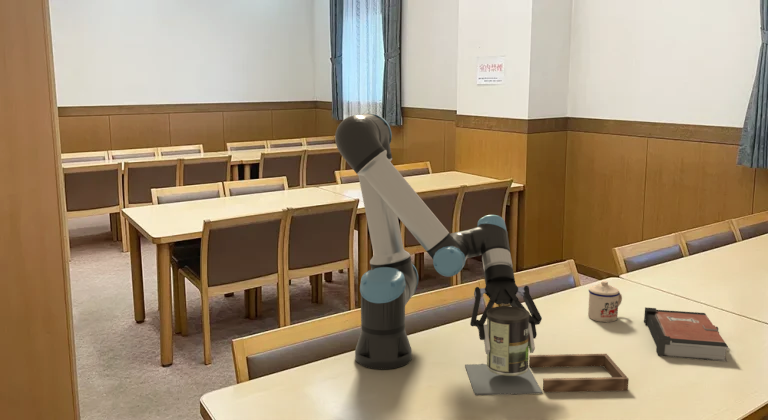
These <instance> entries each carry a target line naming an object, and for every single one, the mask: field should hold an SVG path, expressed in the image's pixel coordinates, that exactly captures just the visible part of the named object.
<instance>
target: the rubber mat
mask: <svg viewBox="0 0 768 420" xmlns="http://www.w3.org/2000/svg"><path fill="white" fill-rule="evenodd" d="M464 367H465V370H466V372H467V373H466V374H467V376H468V378H469V382H470V384H471V388H472V391H473V394H474V395H475V396H481V395H482V396H483V395H484V396H487V395H489V396H490V395H491V396H493V395H539V394H540V395H541V394H542V395H543V393H544V392H543V389H541V386H540V385H539V383H538V381H537V380H536V378H535V376H534V374H533V372H532V370H531V368H529V369H528V371H527V372H526V373H524V374H521V375H516V376H505V375H499V374H496V373H493V372H491V371H490V370H488V368H487V363H478V364H475V363H473V364H471V363H470V364H469V363H468V364H464Z"/></svg>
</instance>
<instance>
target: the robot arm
mask: <svg viewBox="0 0 768 420" xmlns="http://www.w3.org/2000/svg"><path fill="white" fill-rule="evenodd" d="M392 135H393V134H392V129H391V126H390V124H389V123H388V121H386V119H385V118H384V117H382V116H380V115H378V114H377V113H376V114H375V113H371V112H368V113H365V112H364V113H361V114H356V115H355V114H354V115H349V116H348V117H345V118H344V119H343V120H342V121H341V122H340V123H339V124H338V126H337V128H336V130H335V133H334V140H335V141H334V142H335V145H336V148H337V150H338V152H339V154H340V155H341V156H342V158H343V159H344V161H346V163H347V164H348V166H350V168H351V169H352V170H353V171H354V172H355V174H356V175H357V176H358V181H359V186H360V191H361V197H362V200H363V206H364V211H365V216H366V222H367V226H368V232H369V236H370V242H371V243H370V244H371V246H372V252H373V256H372V257H371V259H370V260H369V264H370V270H369V269H368V271H366V272H364V273H363V274H362V276H361V279H360V285H359V293H360V322H361V326H360V329H361V330H360V334H359V336H358V340H357V343H356V346H355V351H354V358H355V362H357V364H359V365H360V366H363V367H365V368H369V369H374V370H392V369H397V368H400V367H401V368H402V367H404V366H406V365H408V364H409V363H410V362H411V361H412V359H413V355H412V354H413V353H412V350H413V349H412V345H411V343H410V340H409V338H408V335H407V331H406V305H407V304H408V302H409V301H410V299H411V298H412V297H413V296H414V294H415V293H416V290H417V288H418V286H419V285H418V284H419V274H418V270H417V268H416V266H415V265H414V264H413V262H412V256H411V254H410V252H409V251H406V249H405V248H404V243H403V238H402V232H401V227H400V223H399V220H400V221H401V223H402V224H403V225H404V227H406V229H407V230H408V231H409V232H410V233H411V235H412V236H413V237H414V239H415V240H416V241H417V242H418V243H419V244H420V245H421V247H422V248H423V249H424V250H425V252H427V254H428V256H429V257H430V258H431V259H432V260H433V261H432V264H433V267H434V268H433V269H435V271H436V272H437V273H438V274H439V275H440V276H444V277H448V278H449V277H454V276H456V275H458V274H459V273H460V272H461V271H462V270H463V268H465V265H466V261H467V260H468V259H469V258H474V257H480V256H481V261H482V266H483V267H482V268H483V276H484V277H483V278H484V282H485V283H484V284H485V287H483V288H480V287H479V286H476V287H475V288H474V293H473V295H474V304H473V309H472V313H471V318H470V326H471V327H476V328H477V330H478V338H479V340H480V341H483V342H484V351H485V355H487V354H489V352H490V343H489V336H488V329H487V324H485V322H487V310H489V309H491V308H494V305H495V304H496V305H501V304H504V305H510V306H513V307H519V308H522V309H525V310H527V309H528V312H529V313H530V317H529V354H533V353H534V351H535V349H536V346H535V340H534V339H537V338H536V337H537V336H538V333H537V329H536V326H537V325H540V324H541V322H542V320H543V319H542V316H541V314H540V312H539V309H538V308H537V305H536V304H535V302H534V299H533V298H532V296H531V293H530V287H529V286H528V285H525V286H523V287H519V286H517V284H516V280H515V273H514V268H513V267H514V266H513V260H512V256H511V249H510V243H509V232H508V231H507V230H508V229H507V225H506V221H505V219H504V218H503V217H502V216H500V215H496V214H488V215H483V217H481V218H479V220H478V221H477V224H476V225H477V226H476V227H473V228H471V229H465V230H461V231H456V232H451V233H450V232H449V230H448V229H447V228H446V226H444V225H443V223H442V222H441V221H440V220H439V219H438V217H437V216H436V214H434V213H433V211H432V210H431V209H430V208H429V207H428V205H427V204H426V203H425V202H424V201H423V199H422V198H421V196H419V195H418V193H417V192H416V191H415V189H414V188H413V187H412V186H411V184H410V183H409V181H407V180H406V179H405V177H404V176H403V175H402V173H401V172H400V171H399V170H398V169H397V168H396V167H395V166H394V164H393V163H392V162H391V161H392V160H393V156H392V149H391V142H392ZM518 293H519V295H520V297H522V298H523V301H524V303H525V305H526V307H525V306H524V305H523V304H522V303H521V301H520V300H519V297H518V296H517V294H518ZM484 294H485V295H486V296H487V298H489V300H488V303H487V304H486V306H485V309H484V310H483V313H482V315H481V316H480V318H479V319H477V318H478V315H479V313H478V312H479V308H480V303H481V300H482V299H481V298H483V296H484ZM526 308H527V309H526Z"/></svg>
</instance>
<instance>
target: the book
mask: <svg viewBox="0 0 768 420" xmlns="http://www.w3.org/2000/svg"><path fill="white" fill-rule="evenodd" d="M643 316H644V317H643V318H644V319H643V323H644V325H645V326H646V327H648V330H649V332H650V335H651V337H652V340H653V341H654V344H655V346H656V347H655V349H656V351H655V352H656V354H657V357H667V358H677V359H678V358H680V359H690V360H701V361H702V360H703V361H715V362H728V360H727V359H726V354H727V350H729V346H728V344H727V342H726V341H725V340H724V339H723V337H722V335H721V334H720V332H719V327H718V326H716V325H714V324H713V323H712V321H711V320H710V319H709V317H708V315H707V314H706V313H705V312H697V311H695V312H694V311H683V310H682V311H681V310H680V311H679V310H668V309H667V310H665V309H657V308H656V307H644V315H643Z"/></svg>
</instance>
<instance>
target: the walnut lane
mask: <svg viewBox="0 0 768 420" xmlns="http://www.w3.org/2000/svg"><path fill="white" fill-rule="evenodd" d="M528 367H529V369H531V368H535V369H536V368H579V367H580V368H583V367H585V368H586V367H589V368H590V367H591V368H592V367H604V369H605V370H606V372H608V374H609V375H610V376H607V377H605V376H604V377H601V376H600V377H599V376H598V377H561V378H559V377H554V378H553V377H550V378H549V377H547V378H542V392H543V393H565V392H566V393H567V392H568V393H569V392H572V393H573V392H576V393H577V392H620V391H622V392H626V391H629V377H627V375H626V374H625V373H624V372H623V370H622V369H621V368H620V367H619V366H618V365H617V363H615V361H614V360H613V359H612V358H611V357H610V356H609V354H608V353H576V354H574V353H572V354H568V353H567V354H561V353H560V354H528Z"/></svg>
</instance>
